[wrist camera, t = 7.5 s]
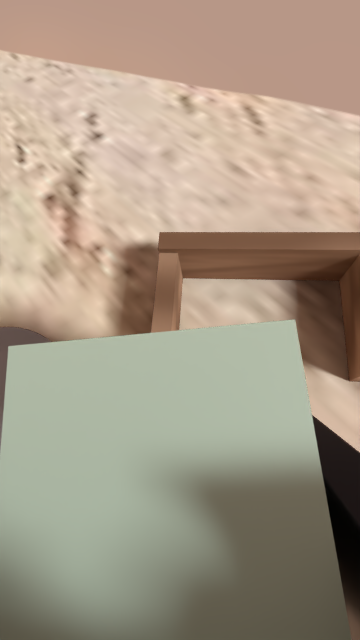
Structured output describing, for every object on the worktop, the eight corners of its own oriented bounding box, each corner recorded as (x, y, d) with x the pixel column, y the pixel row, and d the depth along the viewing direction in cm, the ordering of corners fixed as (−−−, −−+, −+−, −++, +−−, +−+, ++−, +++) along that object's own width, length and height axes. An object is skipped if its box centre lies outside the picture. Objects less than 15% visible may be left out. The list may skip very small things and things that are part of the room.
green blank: (257, 500, 14) (362, 703, 4) (141, 506, 15) (-21, 709, 4) (242, 381, 16) (294, 319, 6) (137, 390, 16) (8, 346, 6)
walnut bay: (369, 382, 21) (403, 369, 17) (158, 371, 22) (146, 357, 19) (355, 265, 23) (382, 232, 20) (168, 263, 25) (159, 232, 21)
